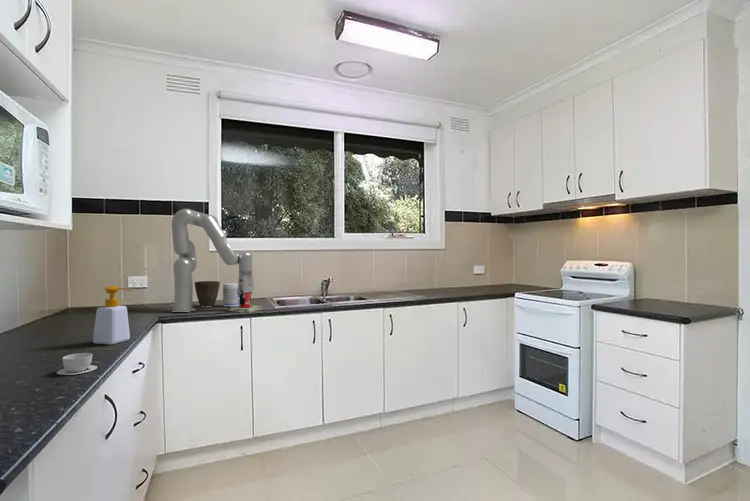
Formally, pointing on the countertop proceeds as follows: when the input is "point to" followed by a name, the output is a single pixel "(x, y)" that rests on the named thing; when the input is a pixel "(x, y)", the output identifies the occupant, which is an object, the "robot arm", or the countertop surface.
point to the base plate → (245, 309)
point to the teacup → (77, 364)
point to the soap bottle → (111, 321)
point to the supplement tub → (230, 294)
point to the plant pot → (207, 292)
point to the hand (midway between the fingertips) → (245, 303)
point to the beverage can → (246, 300)
